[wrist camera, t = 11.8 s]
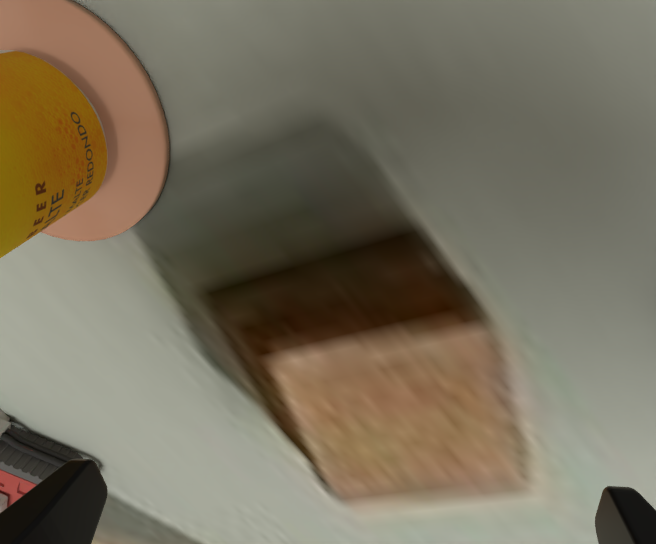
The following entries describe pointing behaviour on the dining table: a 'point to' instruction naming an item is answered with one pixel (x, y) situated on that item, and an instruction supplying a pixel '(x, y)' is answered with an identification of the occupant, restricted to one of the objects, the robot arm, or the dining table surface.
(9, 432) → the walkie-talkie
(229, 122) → the dining table surface
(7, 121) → the beer can
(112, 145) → the peach dome cap
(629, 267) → the dining table surface
